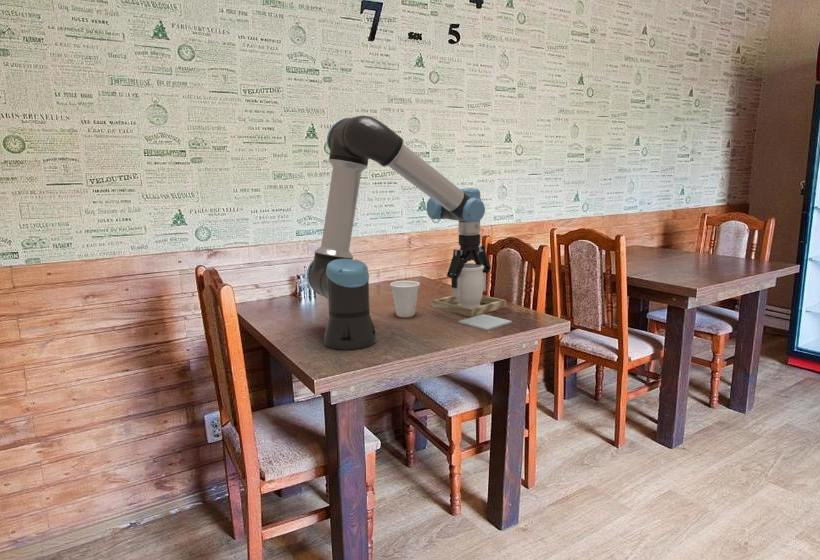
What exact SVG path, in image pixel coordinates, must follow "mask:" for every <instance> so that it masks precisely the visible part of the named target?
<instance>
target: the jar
mask: <svg viewBox="0 0 820 560" xmlns="http://www.w3.org/2000/svg"><path fill="white" fill-rule="evenodd" d="M483 269H484V266H483V265H477V264H476V263H468V262H467V263H465V265H464V267H463V268H462V271H461V273H460V275H459V277H458V279H460V297H459V298H458V297H457V300H458V302H457V303H458V304H457V305H458V306H462V307H466V308H474V307H478V306H482V305H481V302H480V301H481V299H482V295H483V294H484V291H483V289H484V275H483ZM455 275H456V274H455Z"/></svg>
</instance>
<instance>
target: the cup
mask: <svg viewBox="0 0 820 560" xmlns="http://www.w3.org/2000/svg"><path fill="white" fill-rule="evenodd" d="M389 285H390V288H391V292H392V296H393V303H394V309H395V313H396V316H397V317H399V318H411V317H413V316H415V315H416V306H417V301H418V293H419V289H420V288H419V287H420V285H421V283H420V282H418V281H416V280H397V281H392V282H391V283H390V284H389Z"/></svg>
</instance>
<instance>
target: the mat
mask: <svg viewBox="0 0 820 560" xmlns="http://www.w3.org/2000/svg"><path fill="white" fill-rule="evenodd" d="M458 324H462V325H465V326H469V327H472V328H476V329H480V330H483V331H488V332H489V331H492V330H494V329H498V328H500V327H504V326H506V325H510V324H513V320H508V319H505V318H502V317H497V316H493V315H489V314H486V313H484V314H480V315H477V316H473V317H468V318H464V319H461V320H458Z"/></svg>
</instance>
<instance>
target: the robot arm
mask: <svg viewBox="0 0 820 560" xmlns="http://www.w3.org/2000/svg"><path fill="white" fill-rule="evenodd" d="M404 142H405V141H404V138H403V137H401V136H400V135H398V133H396V132H395V131H394V130H393V129H391V128H389V127H388V125H385V123H383V122H382V121H380V120H379V119H376V118H375V117H373V116H369V115H357V116H352V117H345V118H342V119H339V120H338V121H336V122H335V123H334V124H332V126H331V127H330V128H329V130H328V132H327V137H326V144H327V147H328V149H329V158H328V162H329V163H330V164H331V166H332V172H331V178H330V179H331V180H330V183H329V184H330V186H329V190H328V191H329V193H328V199H327V204H326V212H325V216H324V217H325V219H324V224H323V231H322V238H321V244H320V246H319V247H317V249H315V251H314V257H313V260H312V261H311V262H310V263H309V265H308V267H307V270H306V280H307V283H308V285H309V286H310V288H311V289H312V290H313V292H315V293H316V294H317V295H319V296H321V297H324V298H325V299H327V302H328V303H327V304H328V305H327V306H328V320H327V323H326V326H325V331H324V335H323V341H324V342H323V344H324V345H325V346H326V347H328V348H330V349H334V350H358V349H364V348H368V347H370V346H373V345H374V344H375V343H376V342H377V341H378V340H377V332H376V328H375V325H374V323H373V320H372V318H371V314H370V281H369V280H370V274H369V269H368V266H367V264H366V262H363V261H361V260H358V259H354V256H353V254H352V253H351V251H350V247H351V241H352V240H351V239H352V233H353V229H354V228H353V227H354V223H355V222H354V220H355V215H356V209H357V202H358V196H359V190H360V183H361V176H362V172H363V171H365V170H366V169H368V166H369V160H372V161H374V162H376V163H378V164H379V165H380V166H382V167H389V168H390V169H391V170H393V171H394V172H395V173H397V174H399V175H400V176H401V177H403V178H404V179H405V180H407V181H408V182H409V183H410V184H412V185H413V186H414V187H416V188H417V189H418V190H420V191H421V192H422V193H424V194H425V195H427V196H428V197H429V199H428V200H427V202H426V212H427V213H426V214H427V216H428V217H429V218H430V219H432V220H452V221H458V226H457V227H458V233H459V235H458V245H459V247H460V248H459V249H456V248H455V249H453V252H452V257H451V261H450V264H449V267H448V269H447V270H448V271H447V274H446V277H447V278H449V279H451V288H452V296H453V297H458V298H459V297H460V279H458V277H459V275H460V273H461V271H462V268H463V267H464V265H465V264H466V263H468V262H470V261H473V262H474V264H477V265H483V266H484V269H483V275H484V289H483V292H486V291H487V279H488V278H487V277H488V276H487V273H489V272H490V270H491V269H492V267H491V264H490V261H489V258H488V256H487V253H486V246H485V245H481V234H480V233H481V220H482V219H483V217H484V216H485V213H486V207H485V204H484V202H483V200H482V198H481V191H480V189H479V188H473V187H472V188H459V187H458V186H457V185H456V184H454V183H453V182H452V181H451V180H450V179H448V178H447V177H445V176H444V175H443V174H442V173H441V172H439V171H438V170H437V169H435V168H434V167H433V166H432V165H430V164H429V163H428V162H427V161H425V159H423V158H422V157H420V156H419V155H418V154H416V153H415V152H414V151H413V150H412V149H410V148H409V147H408V146H407V145H405V143H404ZM455 274H456V275H455Z"/></svg>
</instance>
